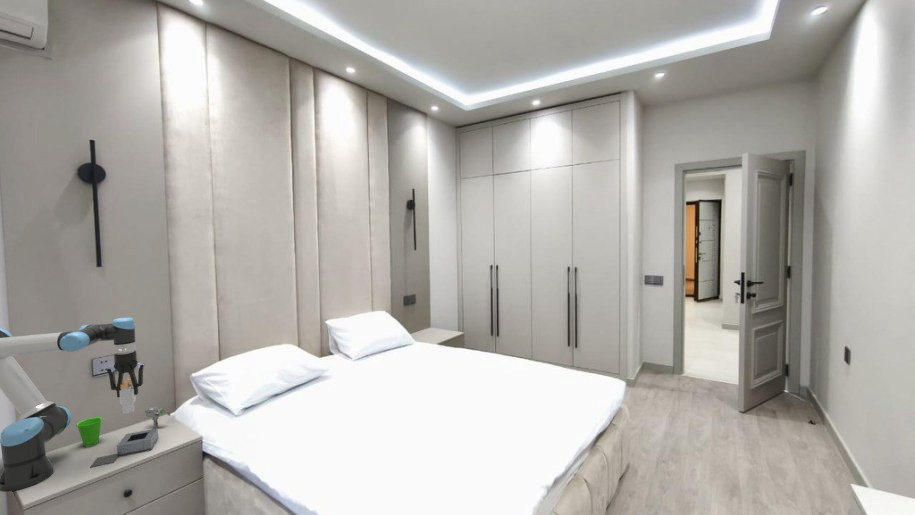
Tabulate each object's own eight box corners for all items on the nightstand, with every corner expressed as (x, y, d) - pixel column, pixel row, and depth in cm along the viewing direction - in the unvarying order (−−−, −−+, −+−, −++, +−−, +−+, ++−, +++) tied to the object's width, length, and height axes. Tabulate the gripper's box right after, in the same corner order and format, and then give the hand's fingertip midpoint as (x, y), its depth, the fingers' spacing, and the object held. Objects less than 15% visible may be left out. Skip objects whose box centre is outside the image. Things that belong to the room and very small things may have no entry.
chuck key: (121, 415, 176) (119, 384, 175) (126, 408, 183) (125, 379, 182) (130, 414, 177) (129, 383, 177) (136, 407, 185) (134, 377, 184)
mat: (89, 467, 168) (89, 466, 168) (97, 458, 175) (97, 457, 175) (113, 462, 171) (113, 461, 171) (120, 453, 178) (120, 452, 178)
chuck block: (117, 457, 175) (116, 446, 175) (126, 444, 186) (126, 434, 186) (151, 450, 180) (150, 439, 180) (158, 438, 191) (157, 428, 191)
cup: (109, 439, 192) (107, 417, 191) (90, 449, 183) (88, 426, 182) (92, 438, 193) (90, 416, 192) (72, 448, 184) (70, 425, 183)
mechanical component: (161, 429, 200) (160, 410, 199) (145, 428, 202) (143, 409, 201) (166, 426, 203) (165, 407, 202) (150, 425, 205) (149, 406, 204)
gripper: (98, 357, 172) (101, 409, 173) (145, 351, 179) (148, 402, 180) (104, 352, 179) (107, 403, 180) (150, 347, 186) (152, 396, 187)
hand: (128, 402), depth 180 cm, fingers closed on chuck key, 3 cm apart
